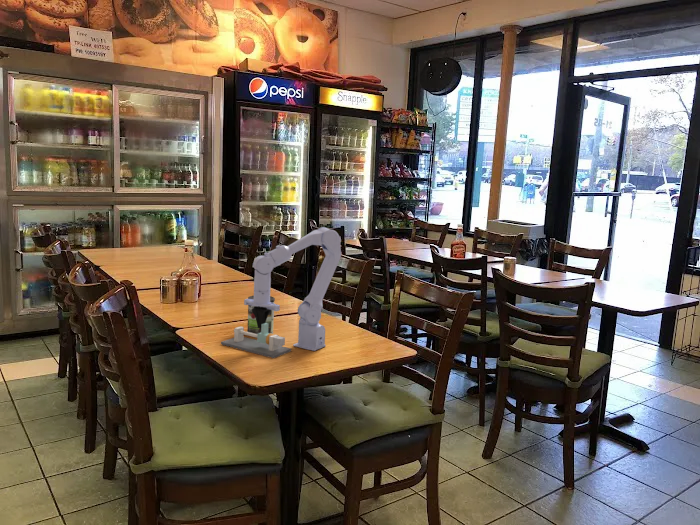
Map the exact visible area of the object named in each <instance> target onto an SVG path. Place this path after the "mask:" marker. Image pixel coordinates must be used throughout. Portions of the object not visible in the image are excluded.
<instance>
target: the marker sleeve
mask: <svg viewBox="0 0 700 525" xmlns="http://www.w3.org/2000/svg"><path fill="white" fill-rule="evenodd" d="M268 334H269V333H268V323H264V324H261V333H258V334H257V338H256V340H257V342H260V343H264V344H267V343H266V337H267V335H268Z"/></svg>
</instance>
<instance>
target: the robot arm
mask: <svg viewBox="0 0 700 525" xmlns="http://www.w3.org/2000/svg"><path fill="white" fill-rule="evenodd" d="M341 242H342V239H341V236H340V235H339V233H338V232H337V231H336V230H334V229H329V228H328V227H325V226H321V227H319V228H318V229H314V230H311V232H309V233H308V234H306V235H304V236H303V237H300V238H299V239H297V240H295V241H293V242H292V243H290V244H289V245H285V244H282V245H279V244H278V245H276V246H275V248H274V249H272V250H270V251H269V252H267V251H266V252H264V253H263V254H264V255H258V256H257V257H255V259H254V260H253V263H252V267H253V268H254V279H253V281H254V282H253V296H254V300H253V299H248V298H245V299H244V301H243V305H245V306H248V305H251V306H254V308H253V309H252V312H253V313H254V316H255V318H256V321H257V326H258V328H261V324H264V323H265V322H266V319H267V317H268V315H269V313H270V311H271V310H274V312H279V311H280V310H281V307H280V306H281V305H280V304H276V303H275V302H274V303H272V302H270V296H271V287H272V286H271V284H272V283H271V282H272V278H271V274H272V273H271V272H273V270H274V268H276V267H279V266H280V265H283V264H284V263H285V262H287V261H289V260H291V258H292V255H293V254H295V253H298V252H300V251H302V250H304V249H306V248H309V247H310V246H320V247H321V248H322V250H323V252H324V255H325V257H324V259H323V261H322V263H321V266H320V268H319V270H318V273H317V274H316V277H315V279H314V282H313V284H312V287H311V289H310V292H309V293H308V295H306V297H304V299H303V301H302V303H300V304H299V306H298V307H297V314H298V316H299V321H298V337H297V342H296V343H293V345H292V346H293V347H297V348H301V349H303V350H304V349H305V350H309V351H313V352H315V351H317V350H319V349H322V348H324V347H326V346H327V345H326V328H325V326H324V325H322V324H320V323H319V322H320V320H321V318H322V310H323V308H324V307H323V300H324V297H325V294H326V293H327V290H328V288H329V285H330V283H331V281H332V279H333V276H334V274H335V271H336V269H337V267H338V265H339V262H340V259H341V257H342V250H341V249H342V248H341V247H342V246H341Z"/></svg>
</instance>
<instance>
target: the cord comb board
mask: <svg viewBox="0 0 700 525" xmlns="http://www.w3.org/2000/svg"><path fill="white" fill-rule="evenodd" d="M244 329H245V328H244V326H241V325H240V326H237V327H234V329H233V333H234V334H233V335H234V336H233V337H232V338H230V339H225V340H222V341H220V345H221V344H222V346H225V345H226V347H229V346H230V348H232V347H233V348H232V349H236V348H237V349H236V350H240V349H241V351H244V350H245V351H244V352H248V353H252V354H255V355H260V356H263V357H266V358H270V357H271V359H276V358H278V357H280V355H281V356H282V355H286V354H288V353H290V352H292V348H290V347H286V346H285V343H286V337H285V336H284V337H283V336H279V335H278V334H274V333H273V334H271V333H269V334H268V335H267V337H266V343H267V344H264V343H260V342H257V334H254V333H250V332H247V331H245V330H244ZM244 335H245V336H248V337H245V336H244ZM251 337H253V338H251ZM254 338H256V339H254Z"/></svg>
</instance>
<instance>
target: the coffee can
mask: <svg viewBox="0 0 700 525" xmlns="http://www.w3.org/2000/svg"><path fill="white" fill-rule="evenodd" d="M247 299H253V300H254V295H250V296H248V297H247ZM275 300H276V298H275V297H274V296H271V295H270V302H272V303H274V304H275ZM253 308H254V306H251V305H247V331H246V332H250V333H254V334H258V333H261V328H258V326H257V321H256V318H255V316H254V313H253V312H252V309H253ZM274 318H275V311H274V310H271V311H270V313H269V315H268V317H267V319H266V322H265V323H268V333H271V334H274V321H275V320H274Z"/></svg>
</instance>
